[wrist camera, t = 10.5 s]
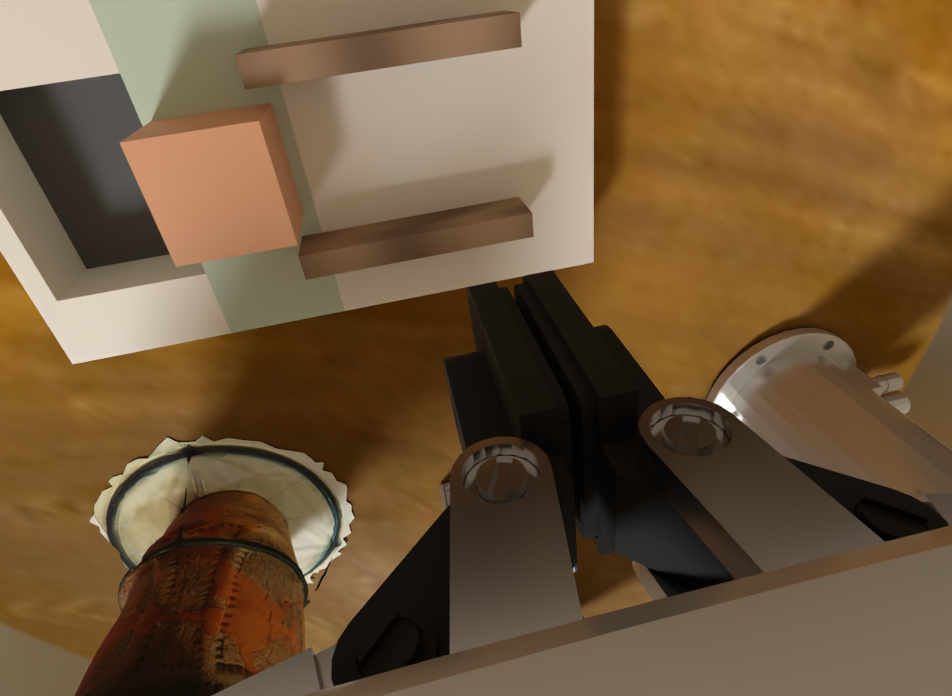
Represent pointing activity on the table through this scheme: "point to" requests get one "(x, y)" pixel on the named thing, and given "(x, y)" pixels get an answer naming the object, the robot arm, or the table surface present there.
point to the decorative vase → (213, 564)
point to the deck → (307, 148)
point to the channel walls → (379, 52)
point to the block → (217, 183)
